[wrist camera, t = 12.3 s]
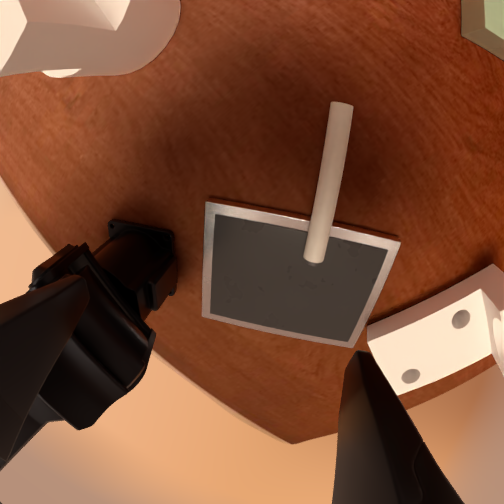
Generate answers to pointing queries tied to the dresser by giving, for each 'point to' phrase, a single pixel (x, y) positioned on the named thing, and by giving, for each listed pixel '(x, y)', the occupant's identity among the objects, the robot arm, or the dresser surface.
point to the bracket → (442, 332)
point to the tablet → (290, 273)
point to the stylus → (328, 181)
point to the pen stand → (484, 24)
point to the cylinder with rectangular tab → (83, 35)
